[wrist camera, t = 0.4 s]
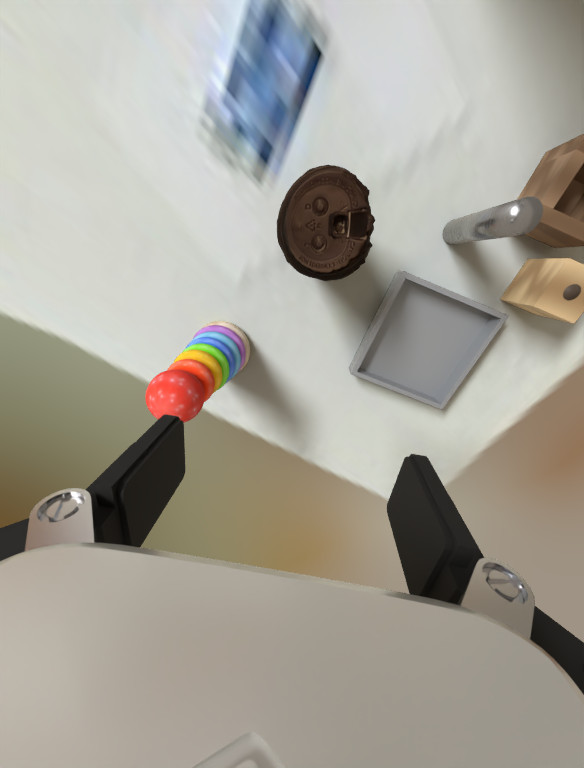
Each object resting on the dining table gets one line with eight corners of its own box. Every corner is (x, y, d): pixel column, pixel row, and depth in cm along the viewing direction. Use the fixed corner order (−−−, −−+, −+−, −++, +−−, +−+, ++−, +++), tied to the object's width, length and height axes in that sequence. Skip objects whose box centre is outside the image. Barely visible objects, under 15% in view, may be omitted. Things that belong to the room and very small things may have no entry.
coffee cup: (374, 234, 33) (405, 218, 21) (327, 290, 36) (332, 304, 24) (319, 180, 31) (320, 130, 20) (275, 244, 34) (253, 234, 23)
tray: (397, 270, 34) (403, 271, 32) (496, 312, 35) (508, 315, 33) (348, 367, 40) (350, 374, 38) (434, 401, 41) (442, 409, 39)
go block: (545, 152, 29) (587, 132, 24) (601, 179, 29) (654, 164, 25) (501, 224, 32) (532, 217, 27) (553, 247, 32) (592, 245, 28)
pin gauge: (451, 215, 32) (521, 190, 21) (471, 224, 32) (551, 204, 21) (438, 239, 33) (498, 227, 22) (457, 247, 33) (527, 240, 22)
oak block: (527, 258, 33) (569, 258, 27) (563, 274, 33) (612, 277, 28) (499, 299, 35) (534, 306, 29) (534, 314, 35) (574, 323, 30)
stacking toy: (214, 378, 43) (146, 456, 26) (188, 331, 40) (92, 382, 23) (260, 362, 41) (219, 433, 24) (236, 311, 38) (171, 350, 21)
